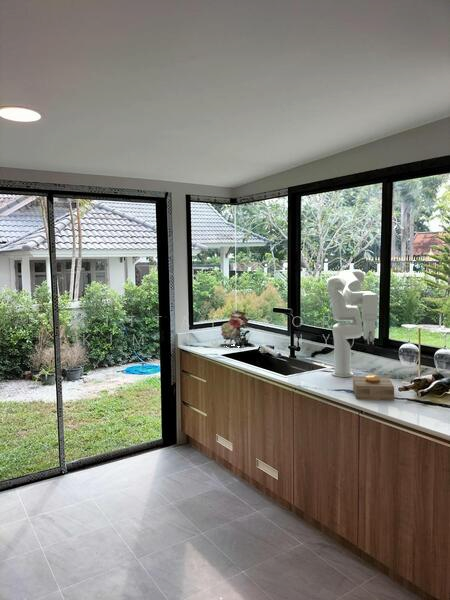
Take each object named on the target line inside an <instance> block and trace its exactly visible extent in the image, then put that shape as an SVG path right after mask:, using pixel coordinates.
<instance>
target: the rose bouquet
mask: <svg viewBox="0 0 450 600" xmlns="http://www.w3.org/2000/svg"><path fill="white" fill-rule="evenodd" d="M229 316H230V318H229V321H227V322H225V323H223V324H222V325H221V326H220V328H221V329H220V330H221V336H223V337H222V338H223V339H224V341H223V342H224V343H220V344H219V347H220V346H227V347H229V349H231V348H238V347H237V346H241V347H239V348H241V349H242V347H243V348H246V346H247V345H249V346H251V347H255V344H254V343H251V342H249V339H247V337H248V336H246V335H245V336H244V337H242V333H241V332H243V330H242V329H252V327H250V326H248V322H249V321H250V320H251V318H247V313H246V312H243V311H240V310H233V311H231V312H230V314H229ZM227 340H228V341H229V343H227ZM232 342H234V343H236V345H237V346H236V345H235V346H231V345H233V343H232Z"/></svg>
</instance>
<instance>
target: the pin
mask: <svg viewBox="0 0 450 600" xmlns="http://www.w3.org/2000/svg"><path fill="white" fill-rule="evenodd" d="M380 377H381V376H380V375H378V374H365V381H366V382H370V383H378V382H380Z"/></svg>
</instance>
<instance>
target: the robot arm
mask: <svg viewBox="0 0 450 600" xmlns="http://www.w3.org/2000/svg"><path fill="white" fill-rule="evenodd" d="M364 282H365V274H364V272H363V271H362V270H361V269H346V270H345V269H344V270H342V271H340V272H339V273H338V275H336V276H330V277H329V278H328V279H327V281H326V289H327V293H328V296H329V298H330V303H331V310H332V317H333V319H334V321H336V322H337V323H335V324H333V326H332V336H333V357H334V358H333V361H334V365H333V366H334V370H333V371H332V372H331V375H332V377H333V376H334V377H338V378H348V377H349V378H350V377H353V376H354V373H353V372H352V371H351V366H352V365H351V364H352V363H351V344H350V343H349V341H348V340H349V339H359V338H361V337H363V339H364V347H365V349H366V351H367V353H374V351H375V346H374V345H375V344H374V343H375V342H374V340H375V338H376V337H375V335H376V321H378V299H379V298H378V294H377V293H375V292H373V291H369V290H367V291H365V290H364V291H360V289H361V287H362V285H363V283H364ZM341 291H342V292H341ZM360 306H361V312H360V309H359V307H360ZM349 321H350V322H349ZM362 321H363V325H362ZM338 322H339V323H338Z"/></svg>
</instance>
